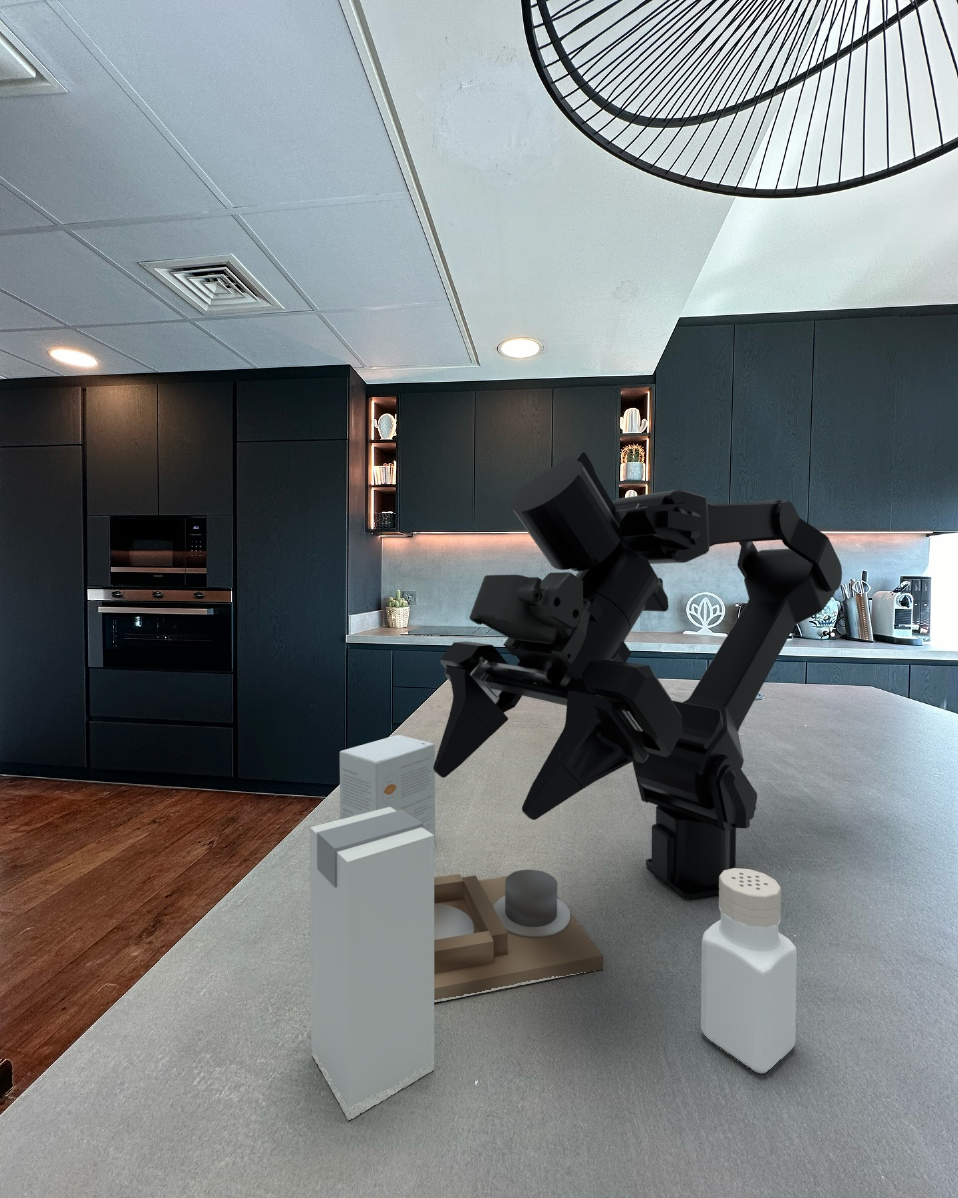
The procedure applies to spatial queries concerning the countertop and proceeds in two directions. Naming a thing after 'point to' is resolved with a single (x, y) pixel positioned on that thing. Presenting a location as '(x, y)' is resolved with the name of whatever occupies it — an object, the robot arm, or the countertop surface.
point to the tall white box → (372, 950)
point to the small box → (389, 778)
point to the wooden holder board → (504, 933)
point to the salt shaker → (749, 972)
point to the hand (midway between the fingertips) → (478, 792)
